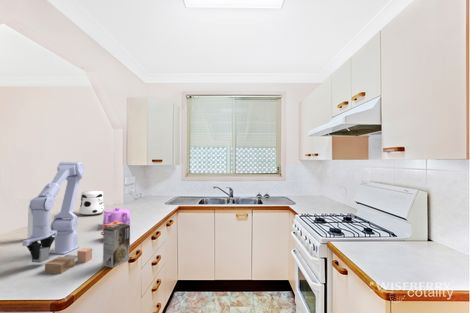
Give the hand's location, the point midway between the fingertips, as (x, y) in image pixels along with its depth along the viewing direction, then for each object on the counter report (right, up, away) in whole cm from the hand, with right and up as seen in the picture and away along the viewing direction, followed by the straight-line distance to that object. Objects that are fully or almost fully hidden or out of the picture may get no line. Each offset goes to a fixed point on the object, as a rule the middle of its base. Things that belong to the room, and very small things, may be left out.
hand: (40, 256), depth 103 cm
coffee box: (+30, -4, +4) cm, 31 cm away
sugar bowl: (+13, -5, +36) cm, 38 cm away
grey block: (0, -2, 0) cm, 2 cm away
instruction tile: (+7, -4, +6) cm, 10 cm away
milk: (-28, -4, +32) cm, 43 cm away
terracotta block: (+16, -4, +5) cm, 17 cm away
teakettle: (+2, -5, +63) cm, 63 cm away
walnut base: (+11, -4, -3) cm, 12 cm away
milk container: (-33, -4, +93) cm, 99 cm away
